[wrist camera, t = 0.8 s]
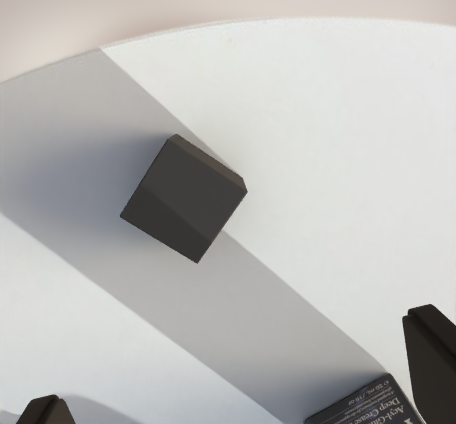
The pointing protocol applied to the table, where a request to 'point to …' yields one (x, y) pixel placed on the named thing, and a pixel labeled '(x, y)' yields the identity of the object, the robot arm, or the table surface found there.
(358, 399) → the box
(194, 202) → the dark block
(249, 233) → the table surface
